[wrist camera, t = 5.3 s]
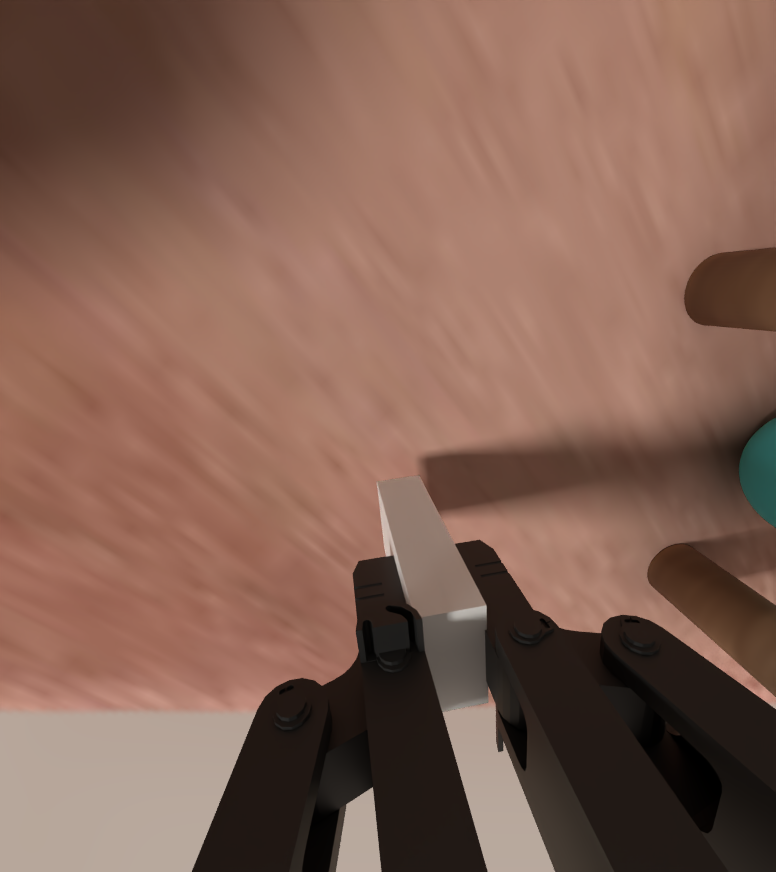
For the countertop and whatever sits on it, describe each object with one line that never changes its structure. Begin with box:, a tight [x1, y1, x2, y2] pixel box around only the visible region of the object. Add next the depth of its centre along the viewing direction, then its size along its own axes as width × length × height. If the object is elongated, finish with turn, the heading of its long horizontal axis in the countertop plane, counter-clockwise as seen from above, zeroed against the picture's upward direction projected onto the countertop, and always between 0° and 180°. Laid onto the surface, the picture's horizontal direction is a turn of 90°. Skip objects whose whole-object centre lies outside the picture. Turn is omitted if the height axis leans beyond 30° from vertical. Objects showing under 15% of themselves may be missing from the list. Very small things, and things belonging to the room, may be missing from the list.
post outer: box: [648, 544, 776, 697], centre depth 16 cm, size 3×3×9 cm
